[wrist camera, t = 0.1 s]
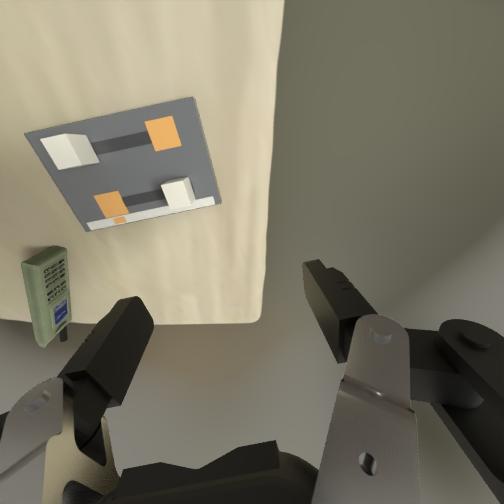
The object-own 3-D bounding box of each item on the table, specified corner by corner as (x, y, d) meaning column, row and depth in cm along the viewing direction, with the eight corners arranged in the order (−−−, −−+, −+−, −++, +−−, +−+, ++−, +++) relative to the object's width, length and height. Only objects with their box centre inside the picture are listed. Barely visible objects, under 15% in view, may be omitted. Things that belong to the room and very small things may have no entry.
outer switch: (168, 180, 32) (160, 185, 28) (188, 176, 32) (182, 180, 28) (176, 202, 34) (170, 209, 30) (195, 198, 34) (191, 205, 30)
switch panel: (36, 134, 30) (22, 133, 28) (195, 99, 29) (192, 96, 27) (93, 227, 37) (85, 232, 35) (221, 200, 36) (221, 203, 34)
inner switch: (63, 139, 28) (39, 139, 25) (85, 135, 28) (64, 133, 25) (79, 166, 30) (58, 169, 26) (99, 162, 30) (82, 164, 26)
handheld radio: (70, 248, 38) (76, 336, 49) (50, 243, 38) (60, 333, 48) (39, 266, 32) (53, 362, 43) (15, 261, 32) (35, 360, 42)
